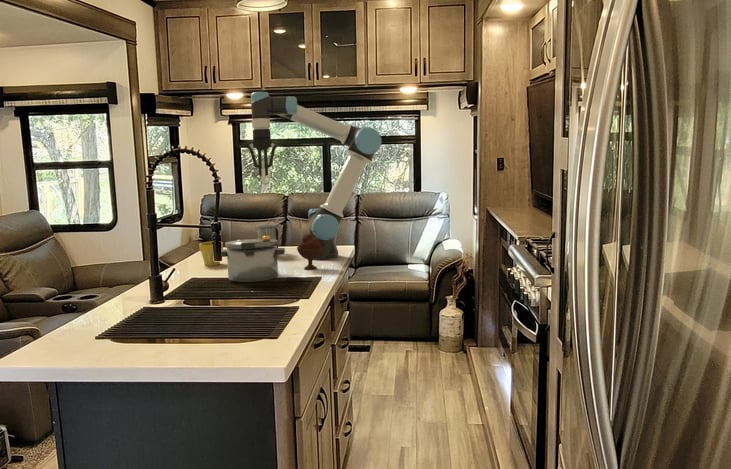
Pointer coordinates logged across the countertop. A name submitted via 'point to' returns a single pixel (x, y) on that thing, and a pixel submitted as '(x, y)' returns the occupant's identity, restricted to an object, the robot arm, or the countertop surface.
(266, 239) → the cooker lid
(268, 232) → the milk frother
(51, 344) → the countertop surface
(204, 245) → the plant pot
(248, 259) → the cooker pot
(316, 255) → the ice cream bowl
